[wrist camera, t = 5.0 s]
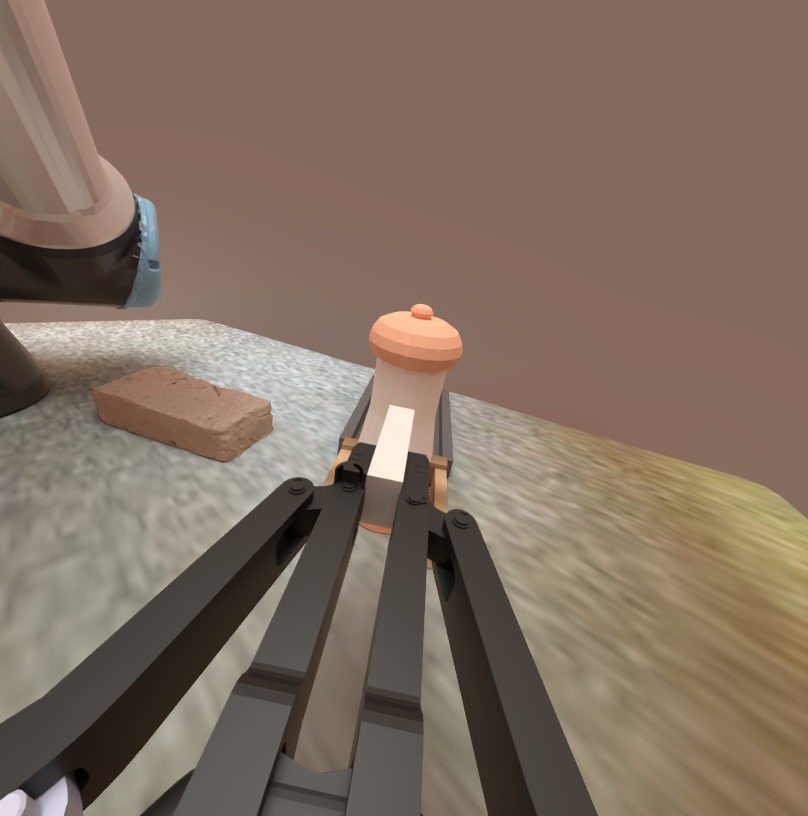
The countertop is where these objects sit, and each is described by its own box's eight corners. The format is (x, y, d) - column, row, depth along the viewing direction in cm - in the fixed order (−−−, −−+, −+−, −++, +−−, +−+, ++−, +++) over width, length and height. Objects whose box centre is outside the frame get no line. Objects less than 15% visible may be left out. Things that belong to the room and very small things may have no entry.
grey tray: (448, 477, 36) (453, 461, 35) (337, 455, 37) (339, 438, 35) (445, 403, 54) (448, 390, 53) (371, 388, 54) (373, 375, 53)
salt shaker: (347, 477, 34) (370, 289, 25) (414, 480, 35) (457, 303, 26) (346, 533, 27) (375, 308, 19) (427, 534, 29) (489, 325, 20)
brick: (276, 429, 40) (276, 396, 37) (226, 468, 32) (222, 428, 30) (166, 395, 42) (159, 362, 40) (96, 424, 35) (83, 385, 33)
